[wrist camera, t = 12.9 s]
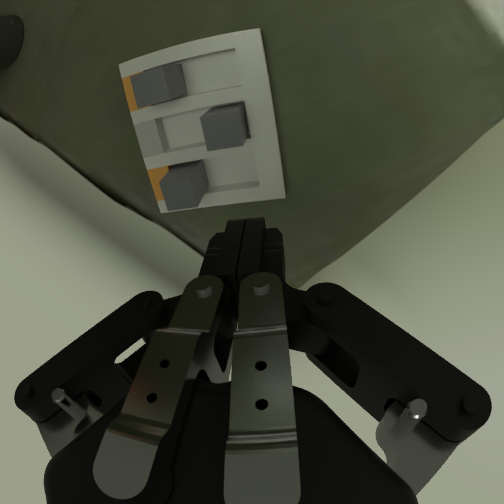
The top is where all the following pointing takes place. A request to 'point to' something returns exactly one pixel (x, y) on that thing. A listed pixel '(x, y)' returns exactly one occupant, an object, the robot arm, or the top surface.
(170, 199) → the tab
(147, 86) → the tab
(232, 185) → the switch bank
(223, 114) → the tab
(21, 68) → the top surface
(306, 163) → the top surface
